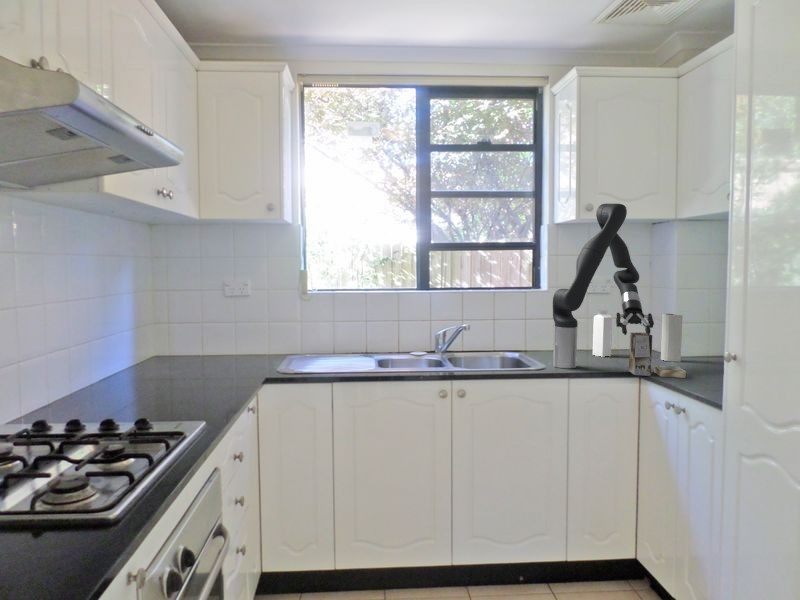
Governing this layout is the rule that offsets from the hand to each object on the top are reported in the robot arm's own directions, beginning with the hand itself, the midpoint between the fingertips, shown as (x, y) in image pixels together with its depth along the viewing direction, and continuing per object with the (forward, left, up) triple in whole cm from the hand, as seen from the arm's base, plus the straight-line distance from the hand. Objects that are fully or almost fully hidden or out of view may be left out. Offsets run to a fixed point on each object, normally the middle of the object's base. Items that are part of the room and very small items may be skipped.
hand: (636, 334), depth 210 cm
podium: (+11, -7, -15) cm, 20 cm away
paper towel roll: (+20, +26, -15) cm, 36 cm away
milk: (-8, +32, -15) cm, 36 cm away
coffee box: (0, -7, -15) cm, 17 cm away
